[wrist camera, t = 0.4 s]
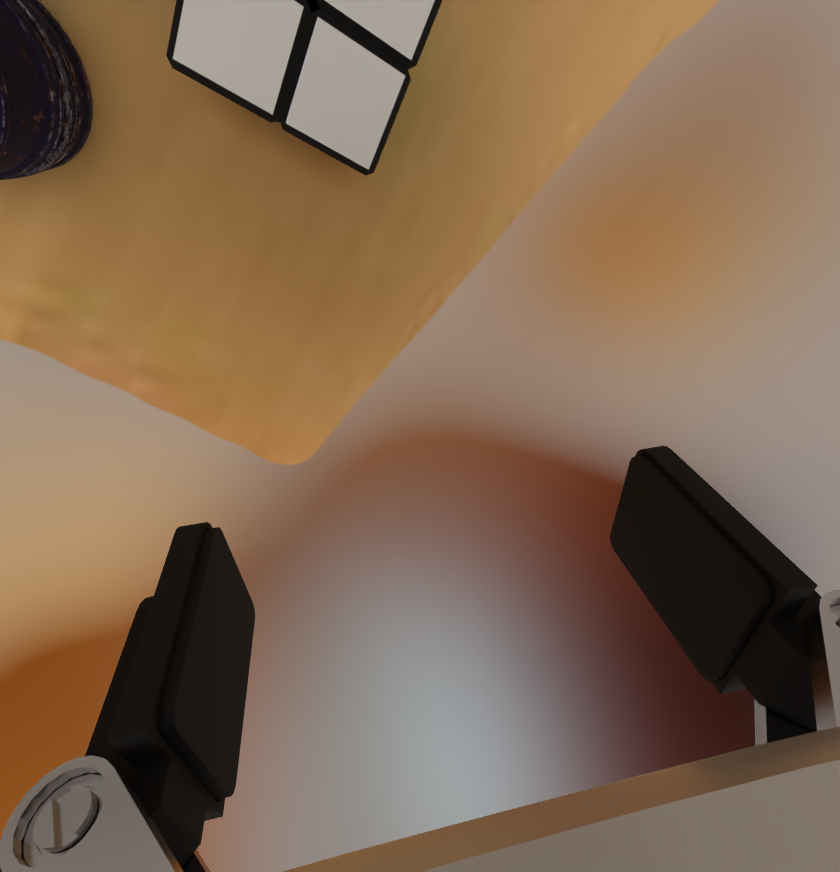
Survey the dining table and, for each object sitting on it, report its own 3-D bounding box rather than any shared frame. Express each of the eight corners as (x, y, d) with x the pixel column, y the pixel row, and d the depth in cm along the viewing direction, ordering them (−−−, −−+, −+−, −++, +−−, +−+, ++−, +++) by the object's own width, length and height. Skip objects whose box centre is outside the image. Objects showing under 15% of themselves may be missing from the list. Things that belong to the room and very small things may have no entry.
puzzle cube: (253, -138, 24) (223, -269, 16) (422, -8, 28) (467, -60, 20) (205, 79, 28) (162, 64, 20) (357, 163, 32) (372, 179, 24)
